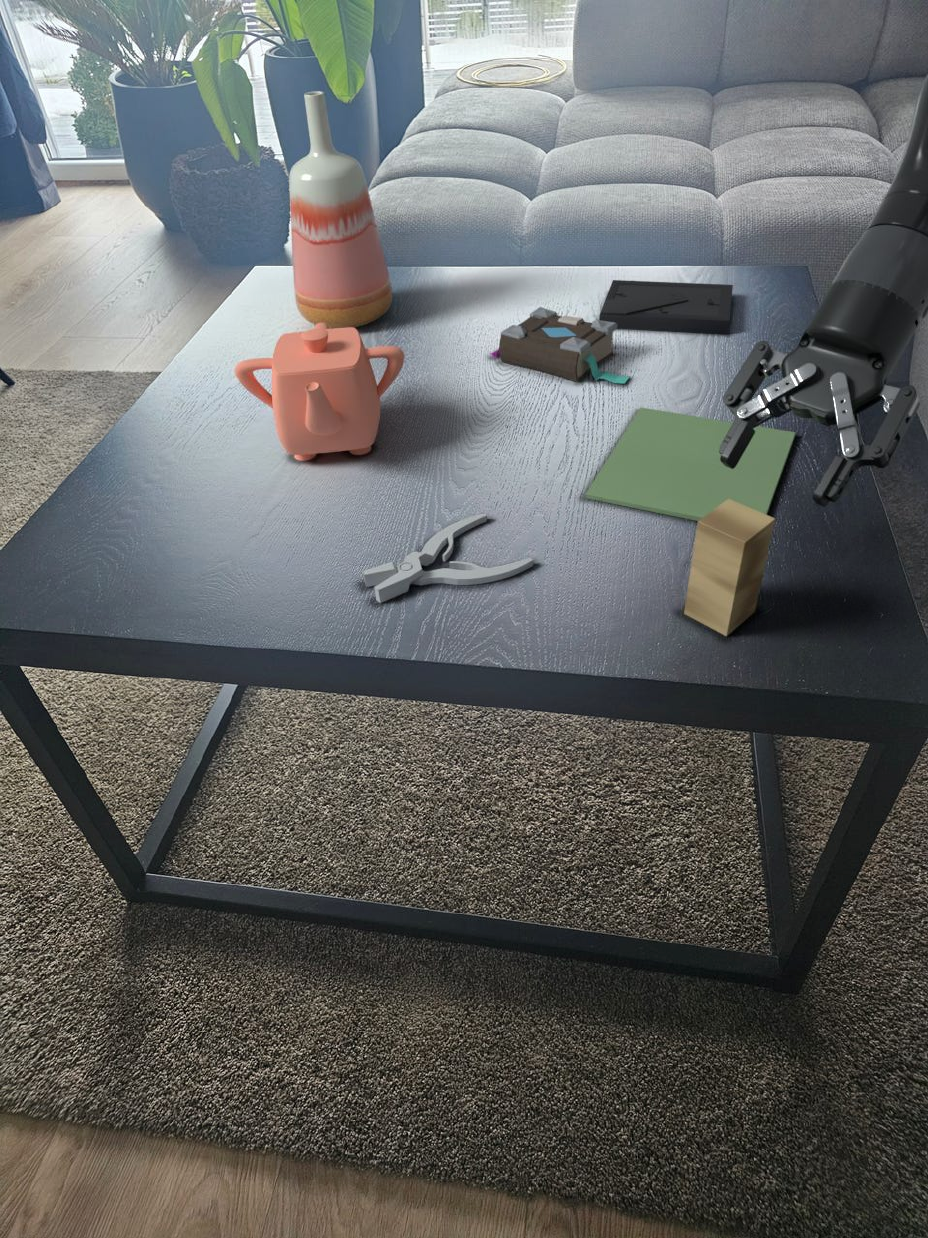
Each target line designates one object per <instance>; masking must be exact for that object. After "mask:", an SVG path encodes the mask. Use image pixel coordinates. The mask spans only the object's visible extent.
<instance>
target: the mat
mask: <svg viewBox="0 0 928 1238" xmlns="http://www.w3.org/2000/svg"><path fill="white" fill-rule="evenodd" d="M733 422H734V421H727V420H721V419H716V418H709V417H702V416H698V415H697V416H696V415H690V414H684V413H678V412H671V411H666V410H659V409H653V408H647V407H640V408H639V410H638V411H637V413H636V414H635V416H634V417H633V419H632V420H631V422H630V424H629V425H628V427H627V428H626V430H625V432H624V433H623V434H622V436H621V438H620V439H619V441H618V442H617V444H616V446H615V447H614V449H613V450H612V452H611V453H610V455H609V456H608V458H607V460H606V461H605V462H604V465H603V466H602V467H601V469H600V471H599V472H598V474H597V475H596V476H595V478H594V480H593V482H592V483H591V485H590V486H589V488H588V490H587V491H586V492H585V496H584V497H585V499H587V500H592V501H597V502H603V503H607V504H611V505H618V506H622V507H627V508H632V509H637V510H642V511H645V512H651V513H656V514H662V515H666V516H671V517H675V518H681V519H685V520H691V521H694V522H695V521H696V522H698V521H699V520H700V519H702V518H703V517H704V516H706V515H707V514H708V513H710V512H711V511H712V510H714V509H715V508H717V507H718V506H719V505H721V504H722V503H723V502H725V501H726V500H727V499H731V500H733V501H735V502H738V503H740V504H742V505H745V506H747V507H749V508H752V509H754V510H756V511H759V512H761V513H763V514H766V515H768V514H769V510H770V507H771V505H772V502H773V499H774V497H775V494H776V491H777V488H778V485H779V483H780V480H781V476H782V474H783V472H784V468H785V465H786V463H787V460H788V457H789V454H790V452H791V449H792V446H793V444H794V441H795V438H796V434H797V433H796V432H795V431H789V430H784V429H777V428H771V427H766V426H765V427H764V426H760V425H759V426H757V427H755V428H753V429H754V430H755V434H754V436H753V437H752V439H751V441H750V443H749V444H748V446H747V448H746V450H745V451H744V453H743V455H742V457H741V458H740V460H739V462H738V464H737V465H736V467H735V468H734V469H731V468H729V467H726V466H725V465H724V464H723V463H722V462H721V461H720V457H721V454H720V453H719V449H720V445H721V443H722V442H723V440H724V438H725V436H726V435H727V433H728V431H729V429H730V428H731V426H732V424H733Z"/></svg>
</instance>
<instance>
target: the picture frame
mask: <svg viewBox="0 0 928 1238" xmlns="http://www.w3.org/2000/svg"><path fill="white" fill-rule="evenodd" d="M733 289H734V285H733V284H721V283H718V284H717V283H696V282H674V281H673V282H671V281H649V280H648V281H646V280H622V279H612V281H611V284H610V286H609V290H608V292H607V295H606V297H605V299H604V302H603V305H602V308H601V310H600V314H599V319H598V320H600V321H607V322H614V323H617V329H619V330H620V329H621V330H639V331H640V330H641V331H656V332H657V331H660V332H678V333H698V334H716V335H717V334H718V335H728V334H729V329H730V321H731V310H732V300H733ZM617 329H616V330H617Z"/></svg>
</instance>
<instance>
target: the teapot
mask: <svg viewBox="0 0 928 1238" xmlns="http://www.w3.org/2000/svg"><path fill="white" fill-rule="evenodd" d="M373 359H386V360H387V364H386V368H385V370H384V372H383V375H382V377H381V379H380V381H379V382H378V384H377V379H376V376H375V373H374V369H373V366H372V364H371V360H373ZM404 363H405V353H404V351H403V350H402V348H400V347H398V346H394V345H381V346H374V347H368V348H366V347H365V344H364V341H363V339H362V336H361V334H360V332H359V330H358V329H357V328H356V327H355V328H353V327H347V328H333V329H330V328H329V325H328V324H326V323H318V324H316V325H315V324H314V326H313V328H312V329H307V330H302V331H295V332H294V331H293V332H288V333H283V334H282V335H280V336H279V338H278V339H277V341H276V343H275V346H274V350H273V354H272V357H259V358H248V359H245V360H242V361H240V362H238V363H237V364H236V365H235V368H234V375H235V377H236V379H237V380H238V382H239V383H240V384H241V386H242V387H243V388H244V389H245V390H247V391H248V392H249V393H251V395H253V396H254V397H255V398H257V399H258V400H260V401H261V402H262V403H264V404H265V405H266V406H268V407H269V408H271V409H272V412H273V419H274V424H275V430H276V433H277V437H278V439H279V442H280V444H281V446H282V447H283V448H284V450H285V451H286V453H287V454H288V455H291V456H293V457H294V458H295V460H296V461H301V462H305V461H310V460H313V459H314V458H315V457H317V454H329V453H335V452H336V453H337V452H343V451H348V452H349V453H350V454H351V455H354V456H362V455H365V454H368V453H370V452H371V450H372V445H374V443H375V441H376V437H377V435H378V429H379V425H380V419H381V397H382V396H383V395H384V394H385V393H386V391H388V389H389V388H390V386H392V384H393V383H394V381H395V380H396V379H397V378H398V376H399V375H400V373H401V371H402V369H403V366H404ZM260 370H271V392H269V391H268V390H267V389H266V388H265V387H264V386H263V385H262V384H261V383H260V382H259V380H257V378H256V377H255V376H256V375H255V374H254V372H255V371H260Z"/></svg>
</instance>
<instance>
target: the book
mask: <svg viewBox="0 0 928 1238" xmlns="http://www.w3.org/2000/svg"><path fill="white" fill-rule="evenodd" d="M616 330H617V323H614V322H607V321H600V320H599V319H596V320H593V321H592V322H588V321H585V320H584V318H583V317H574V316H569V315H565V314H564V315H558V312H557V311H554V310H552V309H548V308H545V307H542V306H539V307H537V308H536V309H535V310H533V311H532V312H530V313H529V317H528V318H526V319H525V320H523V321H522V322H521V323H519V324H518V325H516V324H515V325H514V324H512V325H510V326H508V327H507V328H504V329H503V330H502V331H501V332H500V338H499V343H498V344H499V345H498V349H497V350H494V351H492V352H491V353H490V355H491V356H493V358H497V357H499V358H500V361H501V362H502V363H505V364H509V365H513V366H517V367H518V366H519V367H522V368H527V369H532V370H536V371H540V372H544V373H546V374H548V375H549V374H550V375H553V376H556V377H560V378H563V379H565V380H569V381H572V382H576V383H579V382H580V381H581V380H583V378H585V377H586V376H587V375H588V374H589V373H590V372H591V375H592V376H593V378H594V380H595V381H598V380H600V379H603V380H605V381H608V382H610V383H613V384H626V382H627V381H628V379H629V378H630V376H626V375H625V376H624V375H617V374H615V373H612V372H610V371H604V372H601V371H600V369H599V367H598V366H599V365H600V364H601V363H603V362H605V361H606V360H608V359H609V358H611V357H612V356H613V355H614V350H613V343H614V342H613V335H614V332H615V331H616Z"/></svg>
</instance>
